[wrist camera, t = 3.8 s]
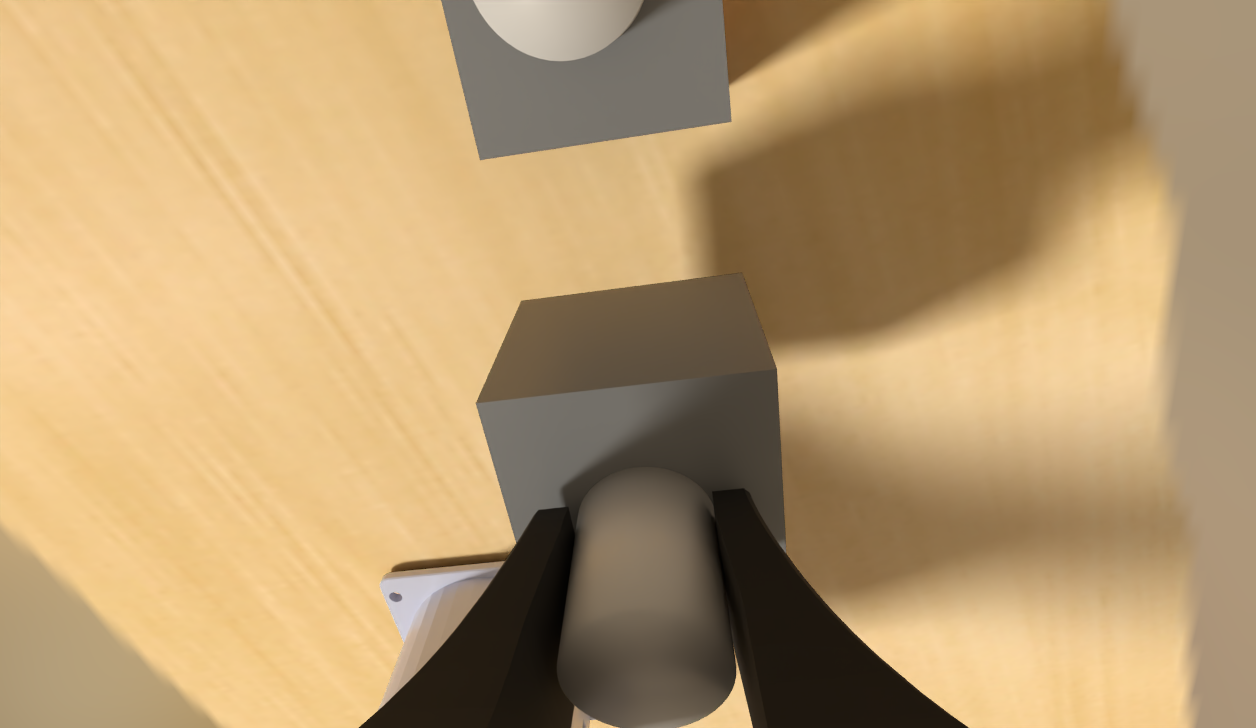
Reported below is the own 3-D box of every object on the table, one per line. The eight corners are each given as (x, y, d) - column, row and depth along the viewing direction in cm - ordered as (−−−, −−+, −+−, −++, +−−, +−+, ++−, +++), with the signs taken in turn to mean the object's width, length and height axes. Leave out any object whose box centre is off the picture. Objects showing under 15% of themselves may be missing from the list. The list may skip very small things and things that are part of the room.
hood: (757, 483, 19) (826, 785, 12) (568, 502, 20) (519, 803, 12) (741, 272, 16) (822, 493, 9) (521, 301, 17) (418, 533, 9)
